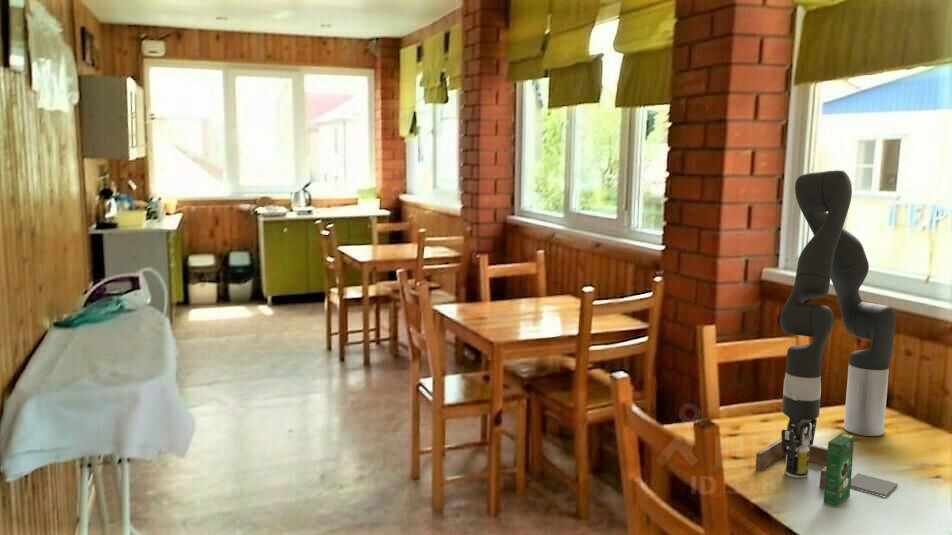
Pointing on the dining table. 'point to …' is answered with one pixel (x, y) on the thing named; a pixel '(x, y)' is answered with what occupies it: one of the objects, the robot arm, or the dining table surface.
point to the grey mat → (872, 484)
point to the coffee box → (838, 469)
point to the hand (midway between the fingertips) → (796, 468)
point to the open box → (775, 452)
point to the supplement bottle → (801, 461)
